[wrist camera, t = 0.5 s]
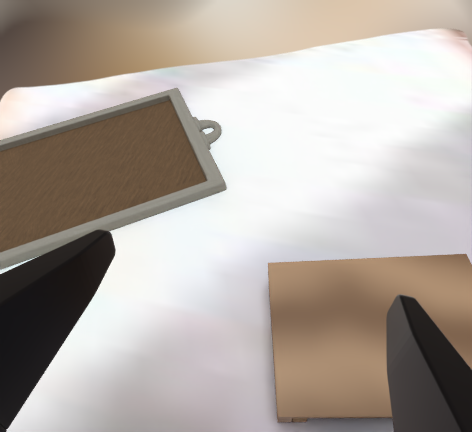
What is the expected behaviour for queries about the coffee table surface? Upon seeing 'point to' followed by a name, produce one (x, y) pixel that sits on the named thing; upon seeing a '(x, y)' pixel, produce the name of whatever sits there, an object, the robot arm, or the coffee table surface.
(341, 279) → the overhang
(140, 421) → the coffee table surface
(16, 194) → the grey picture frame
